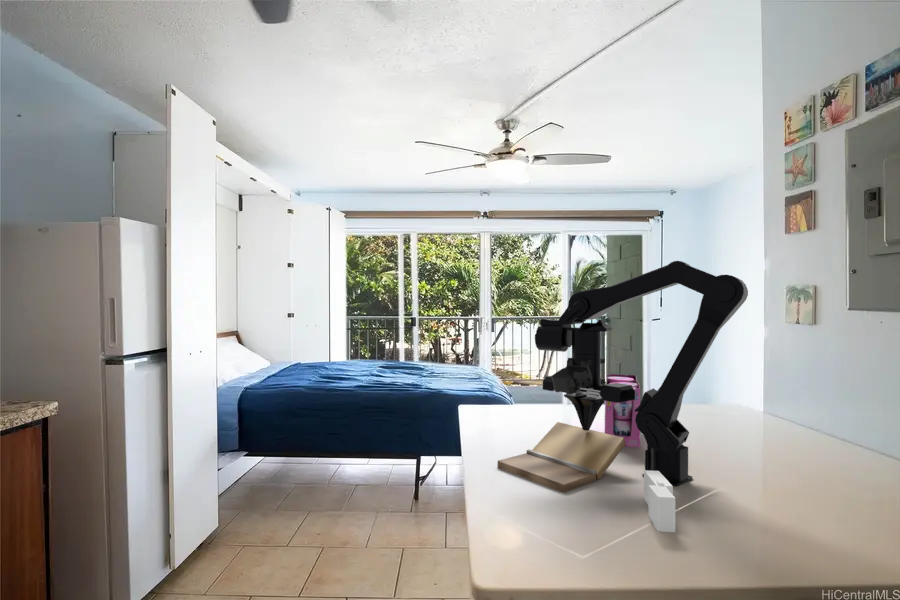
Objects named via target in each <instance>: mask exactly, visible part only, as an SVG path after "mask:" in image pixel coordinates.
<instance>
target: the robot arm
mask: <svg viewBox="0 0 900 600" xmlns="http://www.w3.org/2000/svg"><path fill="white" fill-rule="evenodd" d="M677 285H681V286H683V287H686V288H688V289H690V290H692V291H694V292H697V293H699V294H702V298H701V302H700V305H699V310H698V315H697V319H696V321H695V323H694V325H693V327H692V329H691V331H690V332H689V333H688V336H687V338H686V340H685V341H684V343H683V344H682V346H681V349H680V350H679V353H678V354H677V356H676V357H675V359H674V362H673V363H672V364H671V367H670V369H669V370H668V373H667V374H666V376H665V378H664V379H663V382H662V383H661V385H660V387H659V388H658V389H655V387H653V388H650V389H649V390H646V391H645V392H644V393H643V395H642V398H641V400H640V405H639V407H638V408H636V409H635V410H634V411H635V412H638V413H637V415H636V418H635V422H636V425H637V428H638V429H639V431H640V434H641V435H643V436H644V440H645V443H646V445H647V446H646V449H645V450H644V470H649V471H659V472H660V473H661V474H662V475H663V476H664V477H665V478H666V479H667V480H668V482H669V483H670V484H671V485H672V486H673V487H679V486H681V485H684V484H685V483H688V482H689V481H691V480H693V476H692V475H689V446H686V445H684V443H686V442H687V440H688V438H689V435H690V431H689V430H688V429H687V428H686V427H685V426H684V425H683V423H681V422H680V420H679V419H678V417H679V415H680V411H681V407H682V403H683V397H684V394H685V393H686V391H687V390H688V387H689V386H690V384H691V382H692V380H693V378H694V376H695V375H696V373H697V372H698V369H699V368H700V366H701V364H702V362H703V361H704V359H705V357H706V355H707V354H708V352H709V350H710V349H711V347H712V344H713V343H714V341H715V340H716V337H717V335H718V334H719V332H720V330H721V329H722V328H723V327H724V326H725V325H726V324H727V323H728V322H729V320H730V319H731V318H732V317H733V316H734V315H735V314H736V313H737V312H738V310H739V309H740V308H741V307H742V305H744V303H745V302H746V300H747V298H748V296H749V290H748V287H747V284H746V283H745V282H744V281H743V280H742V279H740V278H738V277H737V276H733V275H730V274H719V275H714V274H711V273H710V272H706V271H704V270H701V269H699V268H697V267H693V266H691V264H689V263H687V262H685V261H681V260H674V261H671V262H669V263H668V264H666V265H664V266H661V267H659V268H656V269H654V270H650V271H648V272H645V273H643V274H639V275H637V276H635V277H632V278H630V279H627V280H624V281H621V282H618V283H615V284H613V285H610V286H604V287H598V288H590V289H587V290H586V289H585V290H581V291H580V290H579V291H576V292H574V293H573V294H571V295H570V298H569V300H568V306H567V308H566V309H565V310H564V312H563V313H562V314H561V315H560V317H559V318H558V319H550V318H540V319H539V325H538V326H537V328H536V332H535V334H534V343H535V347H536V349H537V350H539V351H548V352H562V353H563V352H564V353H565V352H566V351H568V349H569V348H571V357H567V360H566V366H565V367H563V368H561V369H559V370H558V371H556V372H555V373H553V374H552V375H546V376H545V377H544V379H542V390H543V391H550V392H555V393H560V392H561V393H565V394H563V397H564V398H565V399H568V400H569V401H570V402H571V403H572V405H573V407H574V408H575V411H576V414H577V417H578V419H579V423H580V426H581V428H582V429H583V430H585V431H588V430H591V427H592V425H593V423H594V420H595V418H596V417H597V415H598V412H599V410H600V409H601V407H602V406H603V404H604V403H605V401H610V402H615V403H621V402H626V401H631V400H635V390H634V389H633V387H632V385H627V384H620V383H612V384H606V378H603V377H602V364H605V363H606V362H605V360H606V359H605V358H604V357H602V332H603V333H606V332H611V331H612V330H613V328H612V327H611V326H610V325H608V323H606V321H605V320H604V319H599V318H601V317H603V316H605V315H606V314H608V313H609V312H611V311H613V310H614V309H616V308H617V307H618V306H620V305H622V304H625V303H628V302H630V301H634V300H637V299H639V298H642V297H646V296H648V295H651V294H654V293H655V292H656V293H657V292H659V291H660V292H661V291H662V290H665V289H667V288H671V287H674V286H677ZM596 319H598V320H597V321H596V322H586V321H588V320H590V321H591V320H596ZM572 325H580V326H579V327H572ZM641 474H642V476H641V477H642V478H644V472H643V473H641Z"/></svg>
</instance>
